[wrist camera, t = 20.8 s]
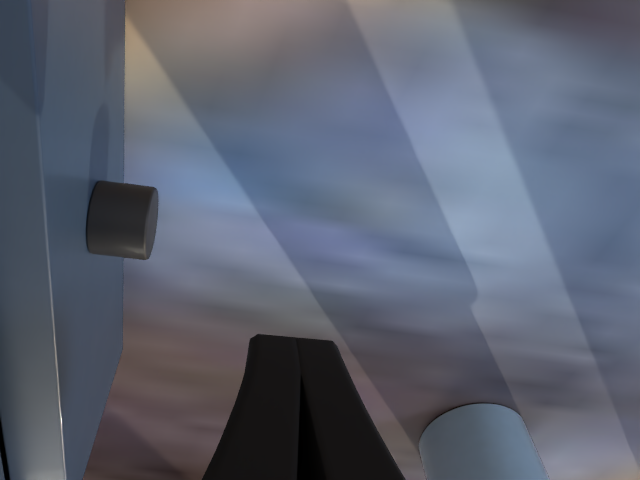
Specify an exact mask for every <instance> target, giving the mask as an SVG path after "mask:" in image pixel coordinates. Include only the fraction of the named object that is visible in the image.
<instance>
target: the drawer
mask: <svg viewBox="0 0 640 480" xmlns="http://www.w3.org/2000/svg"><path fill="white" fill-rule="evenodd" d="M124 79H125V0H0V422H1V428H2V434H3V441H4V447H5V453H6V459H7V466H8V472H9V478H10V480H82V479H83V476H84V473H85V469H86V466H87V463H88V460H89V456H90V453H91V450H92V447H93V443H94V440H95V437H96V434H97V431H98V427H99V424H100V421H101V418H102V414H103V411H104V408H105V405H106V401H107V398H108V395H109V392H110V388H111V385H112V382H113V379H114V376H115V372H116V369H117V366H118V363H119V359H120V356H121V353H122V350H123V257H124V258H133V259H142V260H147V259H148V258H149V257H150V255H151V252H152V248H153V244H154V239H155V233H156V226H157V217H158V191H157V189H156V188H155V187H149V186H141V185H134V184H126V183H124Z"/></svg>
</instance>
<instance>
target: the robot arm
mask: <svg viewBox="0 0 640 480" xmlns="http://www.w3.org/2000/svg"><path fill="white" fill-rule="evenodd" d="M202 480H405V478H404V476H403V475H402V473H401V471H400V470H399V468H398V466H397V464H396V463H395V461H394V459H393V457H392V456H391V454H390V452H389V450H388V448H387V447H386V445H385V443H384V441H383V440H382V438H381V436H380V434H379V432H378V431H377V429H376V427H375V425H374V423H373V421H372V419H371V417H370V416H369V414H368V412H367V410H366V408H365V406H364V404H363V402H362V400H361V398H360V396H359V394H358V392H357V390H356V388H355V385H354V383H353V381H352V379H351V377H350V375H349V373H348V370H347V368H346V366H345V364H344V361H343V359H342V357H341V354H340V352H339V350H338V347H337V346H336V345H335V343H334V342H333V341H328V340H317V339H306V338H295V337H284V336H273V335H263V334H257V335H256V336H254V337H252V338H251V339H250V342H249V348H248V355H247V361H246V367H245V373H244V377H243V381H242V384H241V387H240V390H239V393H238V396H237V399H236V402H235V405H234V407H233V410H232V412H231V415H230V417H229V420H228V422H227V425H226V427H225V430H224V432H223V435H222V437H221V440H220V442H219V444H218V447H217V449H216V451H215V453H214V455H213V457H212V460H211V462H210V464H209V466H208V468H207V470H206V472H205V474H204V476H203V478H202Z"/></svg>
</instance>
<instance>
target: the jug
mask: <svg viewBox="0 0 640 480" xmlns="http://www.w3.org/2000/svg"><path fill="white" fill-rule="evenodd" d="M419 453H420V458H421V462H422V466H423V470H424V474H425V478H426V480H550V478H549V476H548V473H547V471H546V469H545V467H544V465H543V462H542V460H541V458H540V456H539V453H538V451H537V449H536V447H535V444H534V442H533V440H532V438H531V435H530V433H529V431H528V429H527V426H526V424H525V422H524V420H523V419H522V417H521V416H520V415H519V414H518V413H516V412H515V411H514V410H512V409H510V408H508V407H505V406H502V405H498V404H490V403H480V404H471V405H466V406H462V407H459V408H455V409H453V410H451V411H448V412H446V413H444V414H443V415H441V416H439V417H438V418H436V419H435V420H434V421H433V422H431V423H430V424H429V425H428V426H427V428H426V429H425V430H424V432H423V434H422V435H421V438H420V441H419Z"/></svg>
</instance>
